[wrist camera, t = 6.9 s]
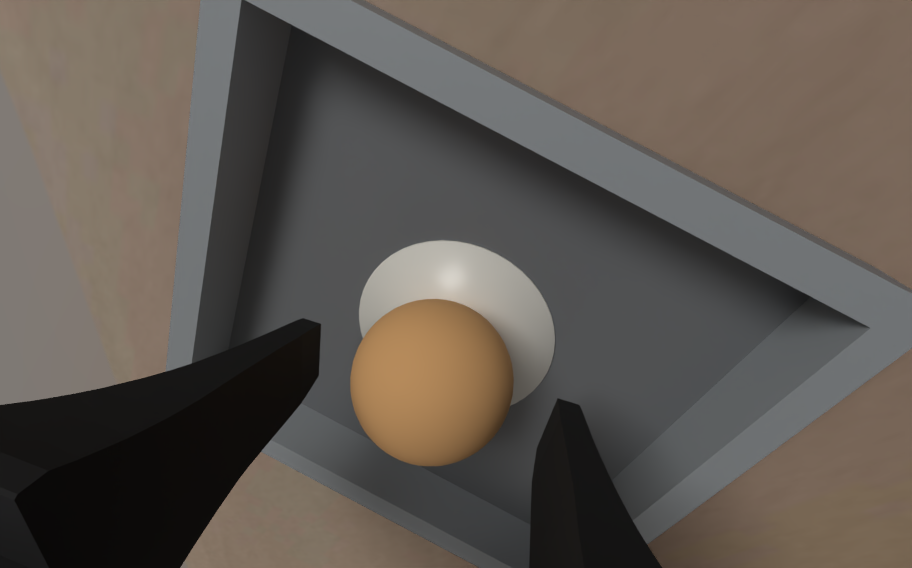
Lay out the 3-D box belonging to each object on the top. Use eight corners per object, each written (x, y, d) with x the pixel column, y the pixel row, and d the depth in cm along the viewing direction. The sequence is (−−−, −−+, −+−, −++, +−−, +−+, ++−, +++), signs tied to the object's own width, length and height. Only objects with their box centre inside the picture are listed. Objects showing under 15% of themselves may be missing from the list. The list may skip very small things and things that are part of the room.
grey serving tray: (877, 268, 11) (954, 316, 9) (560, 548, 19) (559, 610, 17) (278, -45, 11) (208, -75, 9) (209, 362, 19) (163, 399, 17)
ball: (538, 296, 13) (525, 398, 9) (501, 405, 15) (478, 528, 11) (395, 256, 14) (320, 335, 10) (380, 367, 16) (315, 471, 12)
